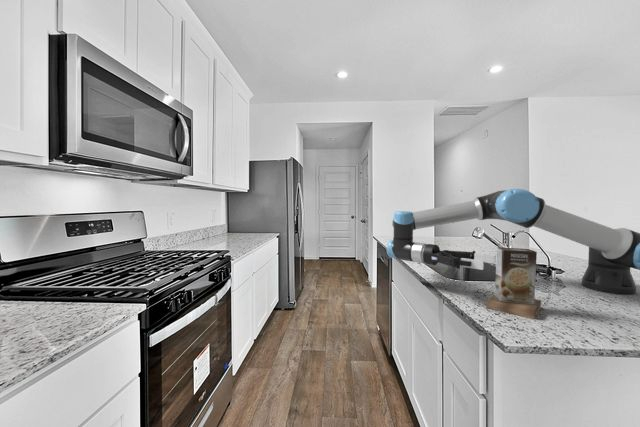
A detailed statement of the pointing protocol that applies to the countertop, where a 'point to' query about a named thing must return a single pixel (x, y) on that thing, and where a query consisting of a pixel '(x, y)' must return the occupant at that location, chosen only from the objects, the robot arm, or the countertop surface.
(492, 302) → the walnut board
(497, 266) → the brown food box
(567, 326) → the countertop surface
